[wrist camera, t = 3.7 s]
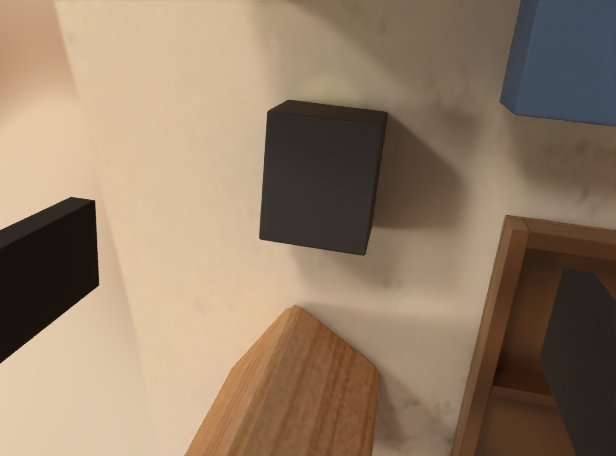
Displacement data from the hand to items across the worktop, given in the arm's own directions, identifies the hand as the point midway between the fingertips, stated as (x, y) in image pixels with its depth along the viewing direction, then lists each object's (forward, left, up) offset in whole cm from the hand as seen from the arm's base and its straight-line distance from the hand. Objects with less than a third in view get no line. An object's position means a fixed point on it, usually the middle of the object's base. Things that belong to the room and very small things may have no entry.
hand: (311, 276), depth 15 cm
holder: (+10, +12, -13) cm, 20 cm away
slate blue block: (-7, +9, -13) cm, 17 cm away
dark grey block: (0, -1, -13) cm, 13 cm away
